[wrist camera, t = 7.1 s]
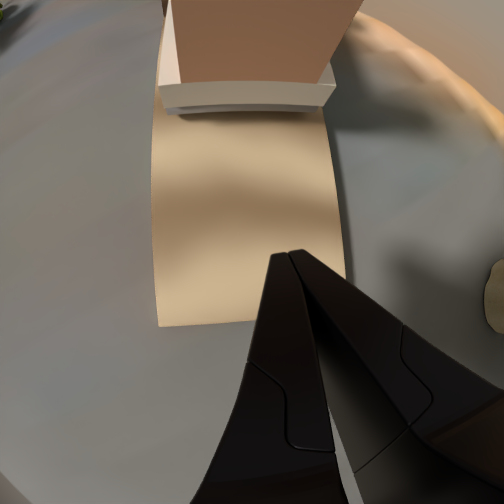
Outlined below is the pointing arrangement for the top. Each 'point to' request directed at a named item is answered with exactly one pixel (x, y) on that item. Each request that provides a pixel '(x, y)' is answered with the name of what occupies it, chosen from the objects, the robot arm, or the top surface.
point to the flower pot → (495, 297)
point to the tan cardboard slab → (235, 206)
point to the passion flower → (0, 14)
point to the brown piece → (250, 54)
